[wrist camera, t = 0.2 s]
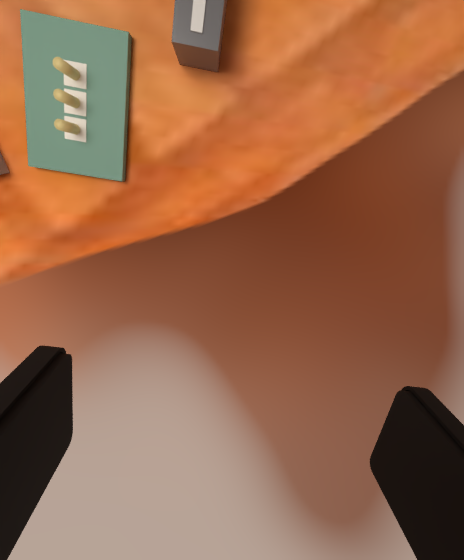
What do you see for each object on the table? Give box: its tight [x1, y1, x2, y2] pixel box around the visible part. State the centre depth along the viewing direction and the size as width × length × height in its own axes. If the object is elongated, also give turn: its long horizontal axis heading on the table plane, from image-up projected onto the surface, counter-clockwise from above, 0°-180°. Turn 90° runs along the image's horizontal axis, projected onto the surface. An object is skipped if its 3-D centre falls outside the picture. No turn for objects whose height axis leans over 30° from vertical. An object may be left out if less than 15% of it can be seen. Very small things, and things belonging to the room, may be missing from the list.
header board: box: [20, 9, 132, 181], centre depth 30 cm, size 14×10×5 cm
